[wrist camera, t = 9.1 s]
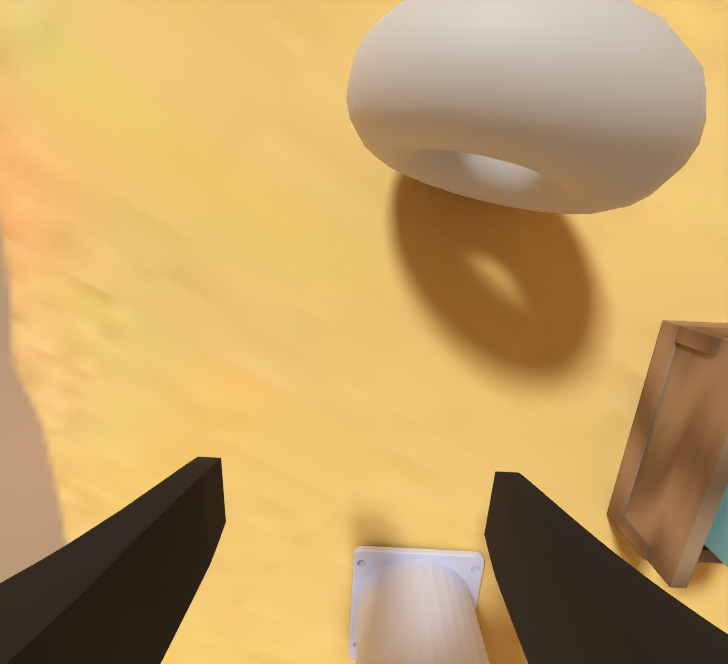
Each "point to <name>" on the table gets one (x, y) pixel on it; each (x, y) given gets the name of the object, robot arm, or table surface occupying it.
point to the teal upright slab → (719, 531)
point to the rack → (677, 451)
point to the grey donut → (529, 100)
